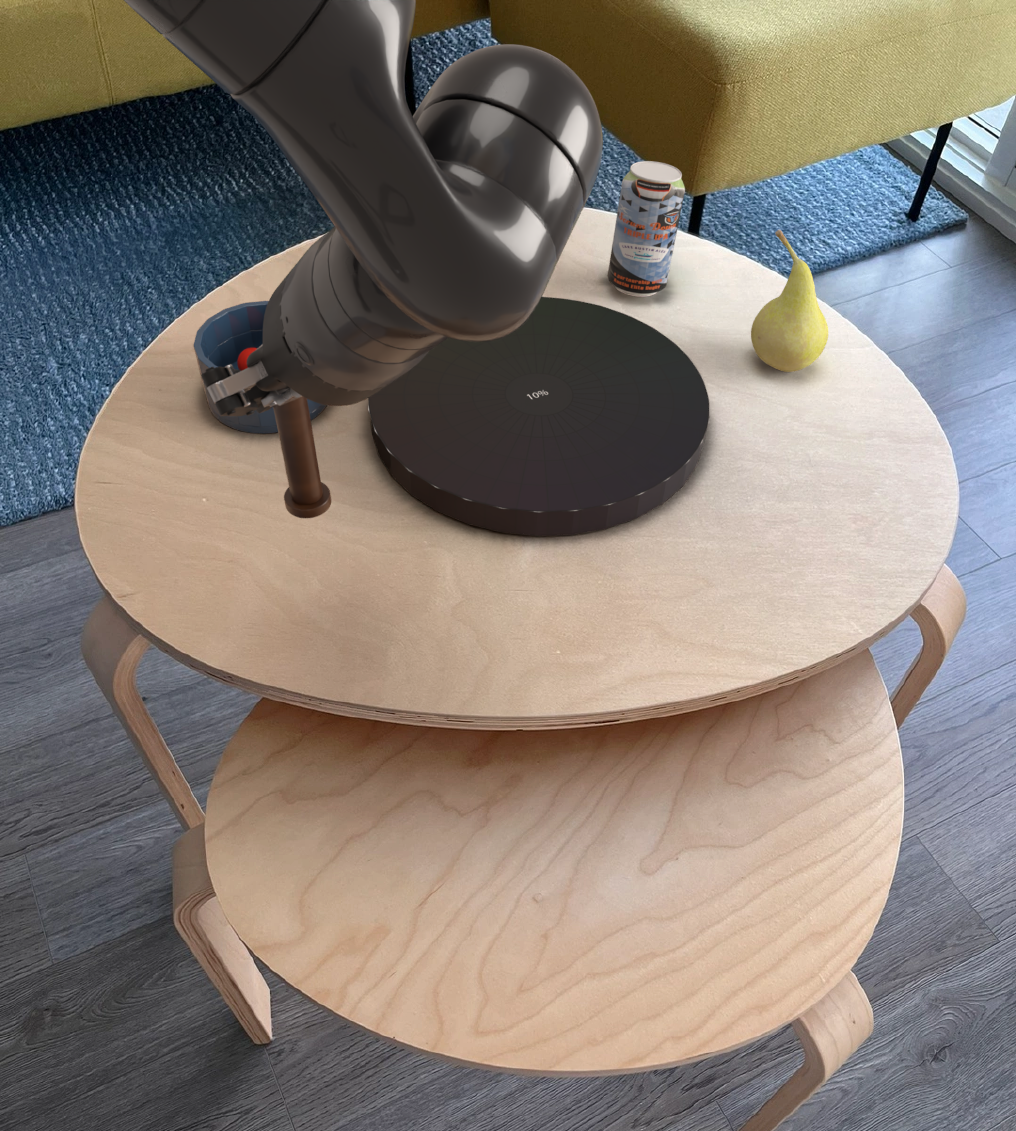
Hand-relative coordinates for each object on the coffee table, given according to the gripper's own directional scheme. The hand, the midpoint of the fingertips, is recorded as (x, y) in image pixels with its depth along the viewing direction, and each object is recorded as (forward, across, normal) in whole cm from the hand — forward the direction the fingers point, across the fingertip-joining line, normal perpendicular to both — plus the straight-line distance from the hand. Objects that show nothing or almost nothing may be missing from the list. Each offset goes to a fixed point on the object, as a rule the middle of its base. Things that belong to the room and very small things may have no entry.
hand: (274, 389), depth 73 cm
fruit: (+13, -51, +14) cm, 54 cm away
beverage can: (+26, -48, +2) cm, 55 cm away
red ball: (+29, -9, -6) cm, 31 cm away
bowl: (+30, -9, -3) cm, 31 cm away
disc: (+18, -27, +9) cm, 34 cm away
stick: (+4, 0, +8) cm, 9 cm away
